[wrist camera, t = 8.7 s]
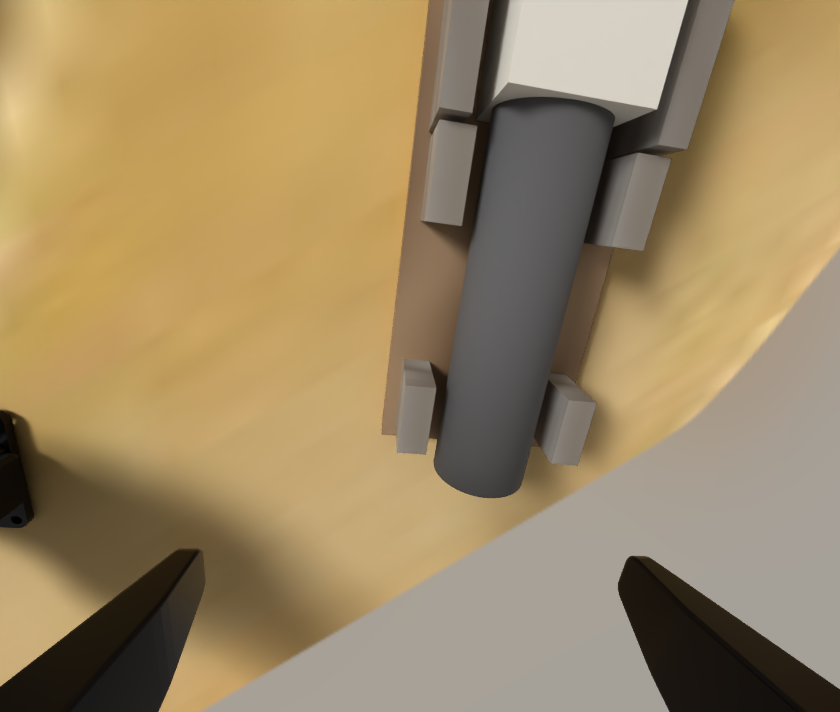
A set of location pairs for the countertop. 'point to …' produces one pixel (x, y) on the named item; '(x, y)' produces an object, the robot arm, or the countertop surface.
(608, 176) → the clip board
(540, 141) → the gray rod with block
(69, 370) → the countertop surface
